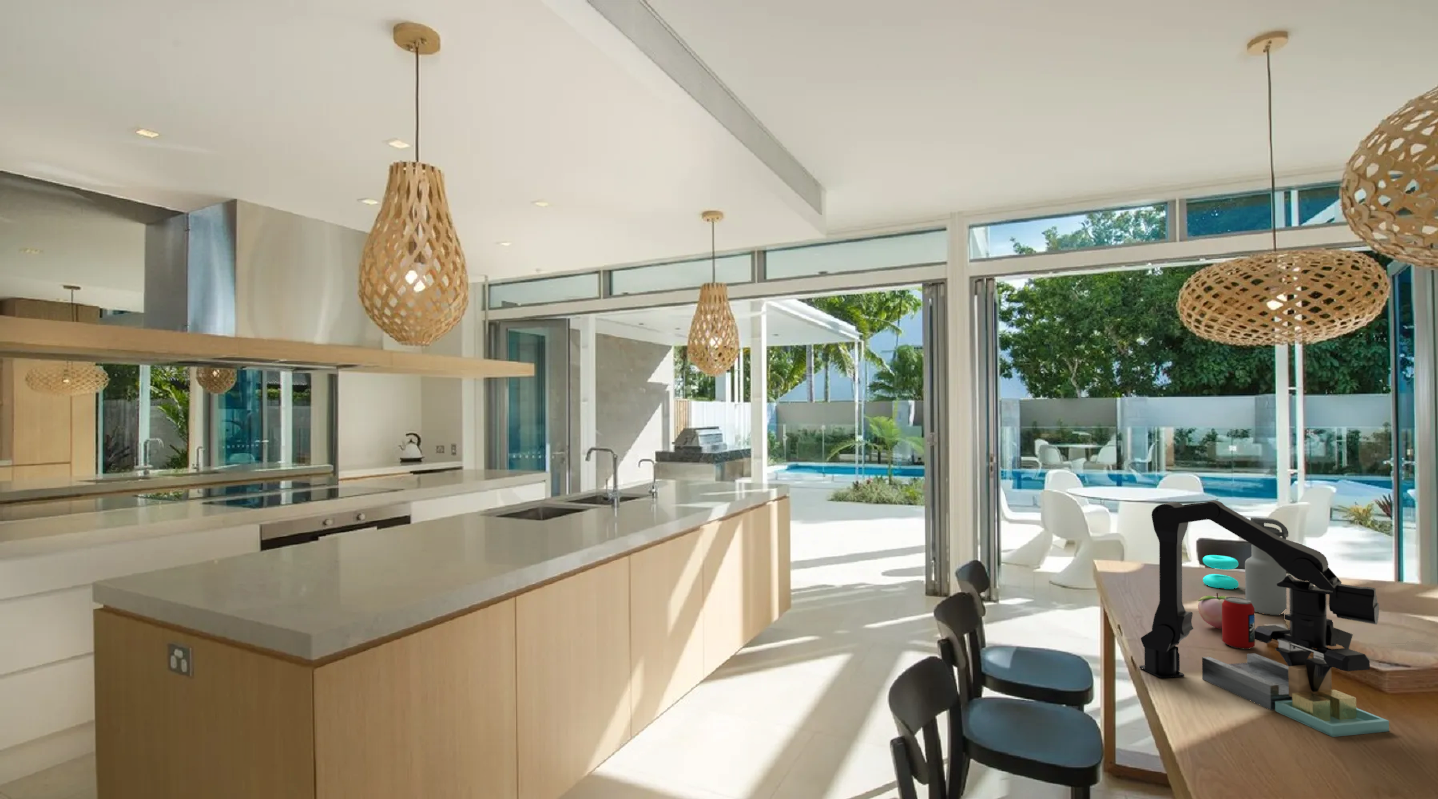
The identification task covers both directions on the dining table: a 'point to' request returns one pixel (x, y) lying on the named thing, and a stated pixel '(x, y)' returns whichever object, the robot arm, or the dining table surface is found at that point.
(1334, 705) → the yellow cube
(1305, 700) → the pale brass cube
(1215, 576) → the donuts
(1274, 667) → the slot block
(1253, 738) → the dining table surface
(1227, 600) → the beverage can
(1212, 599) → the decorative fruit
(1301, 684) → the wooden block
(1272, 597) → the water bottle
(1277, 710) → the tray
